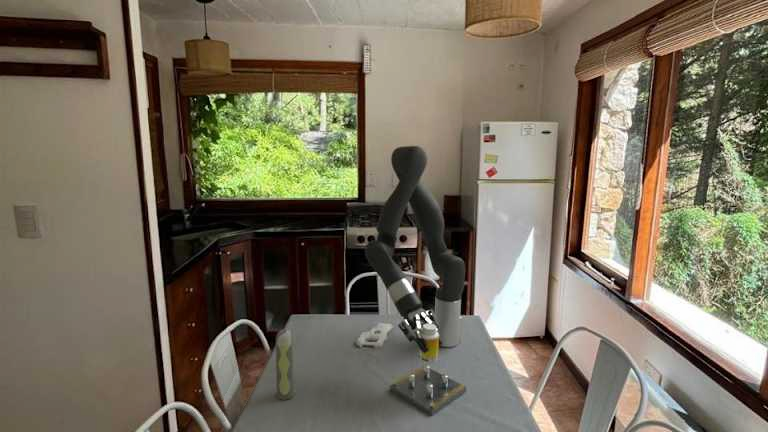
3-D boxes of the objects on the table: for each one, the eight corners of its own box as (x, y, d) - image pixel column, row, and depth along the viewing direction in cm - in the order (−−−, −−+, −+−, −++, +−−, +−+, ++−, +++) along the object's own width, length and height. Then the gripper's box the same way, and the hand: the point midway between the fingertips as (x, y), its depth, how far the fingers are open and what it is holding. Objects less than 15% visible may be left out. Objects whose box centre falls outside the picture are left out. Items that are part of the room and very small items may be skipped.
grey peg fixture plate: (424, 370, 133) (425, 355, 132) (466, 391, 122) (466, 376, 121) (389, 390, 122) (390, 374, 121) (431, 415, 111) (432, 398, 110)
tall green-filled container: (293, 399, 117) (291, 334, 113) (276, 401, 116) (273, 335, 113) (294, 389, 122) (292, 326, 118) (277, 391, 121) (275, 327, 117)
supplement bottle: (441, 361, 119) (443, 328, 117) (425, 365, 116) (426, 332, 114) (431, 352, 124) (432, 321, 122) (415, 356, 121) (416, 324, 119)
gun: (370, 318, 164) (394, 321, 161) (370, 326, 165) (394, 329, 162) (354, 341, 147) (380, 345, 144) (354, 349, 148) (380, 354, 145)
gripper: (394, 296, 117) (425, 351, 111) (426, 285, 127) (456, 335, 121) (381, 309, 122) (409, 361, 115) (413, 297, 132) (441, 345, 125)
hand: (433, 347), depth 118 cm, fingers closed on supplement bottle, 5 cm apart
